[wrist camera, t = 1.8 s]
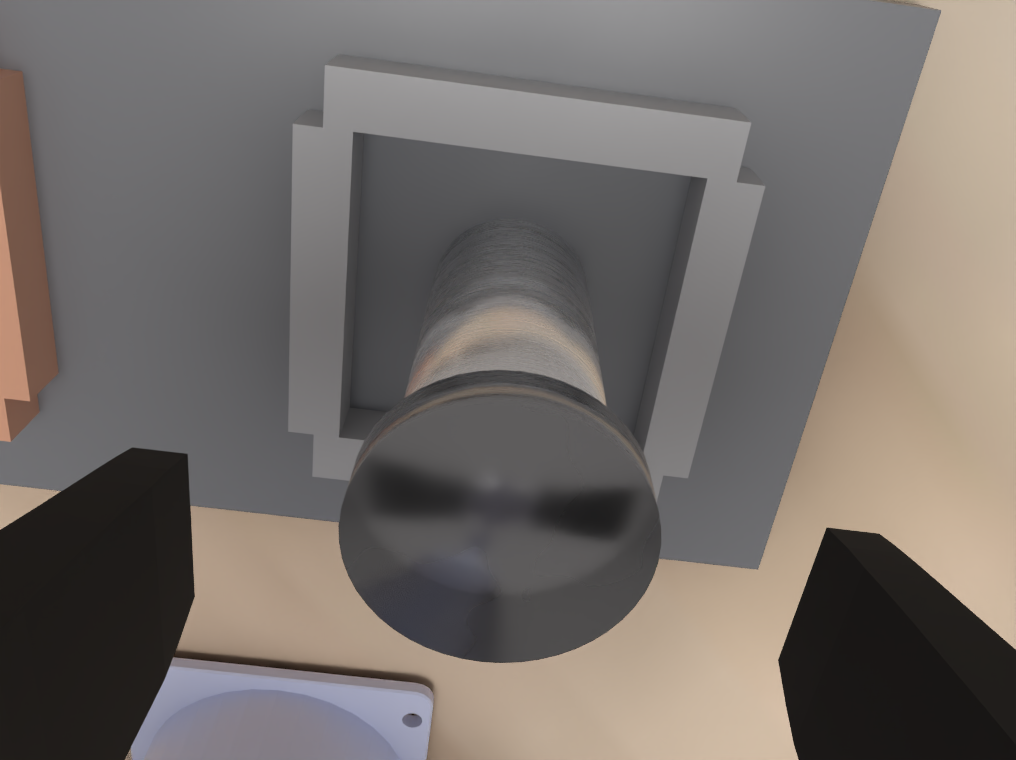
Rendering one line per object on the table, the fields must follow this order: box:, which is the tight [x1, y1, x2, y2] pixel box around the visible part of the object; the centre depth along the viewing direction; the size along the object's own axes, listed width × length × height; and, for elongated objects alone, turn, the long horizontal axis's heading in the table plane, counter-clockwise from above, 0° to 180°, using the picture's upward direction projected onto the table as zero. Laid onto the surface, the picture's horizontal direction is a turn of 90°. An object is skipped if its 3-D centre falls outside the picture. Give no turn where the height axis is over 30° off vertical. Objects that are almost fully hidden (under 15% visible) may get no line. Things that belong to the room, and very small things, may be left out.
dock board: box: [0, 0, 941, 569], centre depth 17 cm, size 12×26×2 cm, turn 83°
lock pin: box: [339, 219, 661, 663], centre depth 14 cm, size 4×4×8 cm
